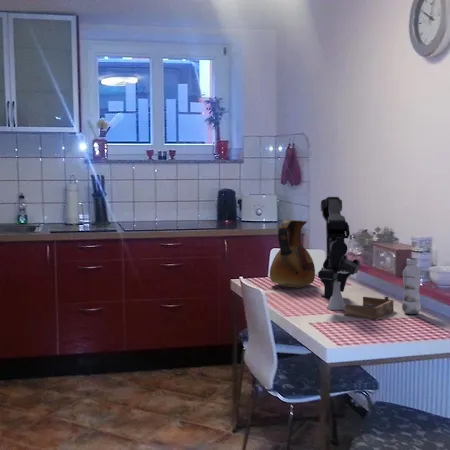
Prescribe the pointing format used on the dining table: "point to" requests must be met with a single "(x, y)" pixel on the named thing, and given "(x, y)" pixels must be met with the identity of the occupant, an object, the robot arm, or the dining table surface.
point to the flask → (336, 299)
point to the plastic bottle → (411, 287)
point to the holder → (370, 308)
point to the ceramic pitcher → (292, 257)
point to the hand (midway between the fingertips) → (336, 293)
